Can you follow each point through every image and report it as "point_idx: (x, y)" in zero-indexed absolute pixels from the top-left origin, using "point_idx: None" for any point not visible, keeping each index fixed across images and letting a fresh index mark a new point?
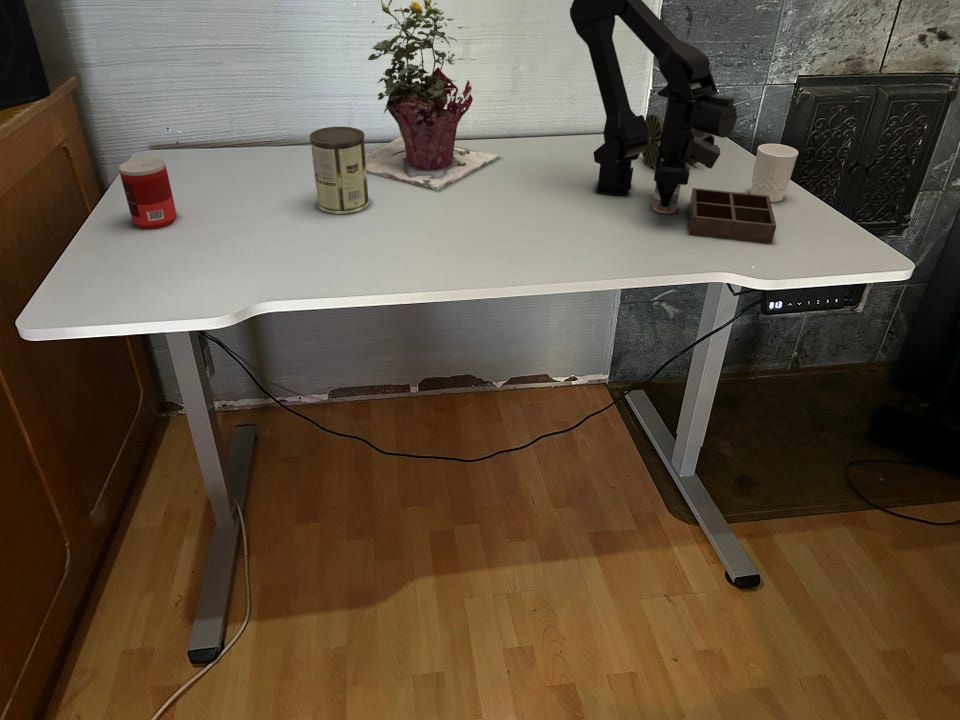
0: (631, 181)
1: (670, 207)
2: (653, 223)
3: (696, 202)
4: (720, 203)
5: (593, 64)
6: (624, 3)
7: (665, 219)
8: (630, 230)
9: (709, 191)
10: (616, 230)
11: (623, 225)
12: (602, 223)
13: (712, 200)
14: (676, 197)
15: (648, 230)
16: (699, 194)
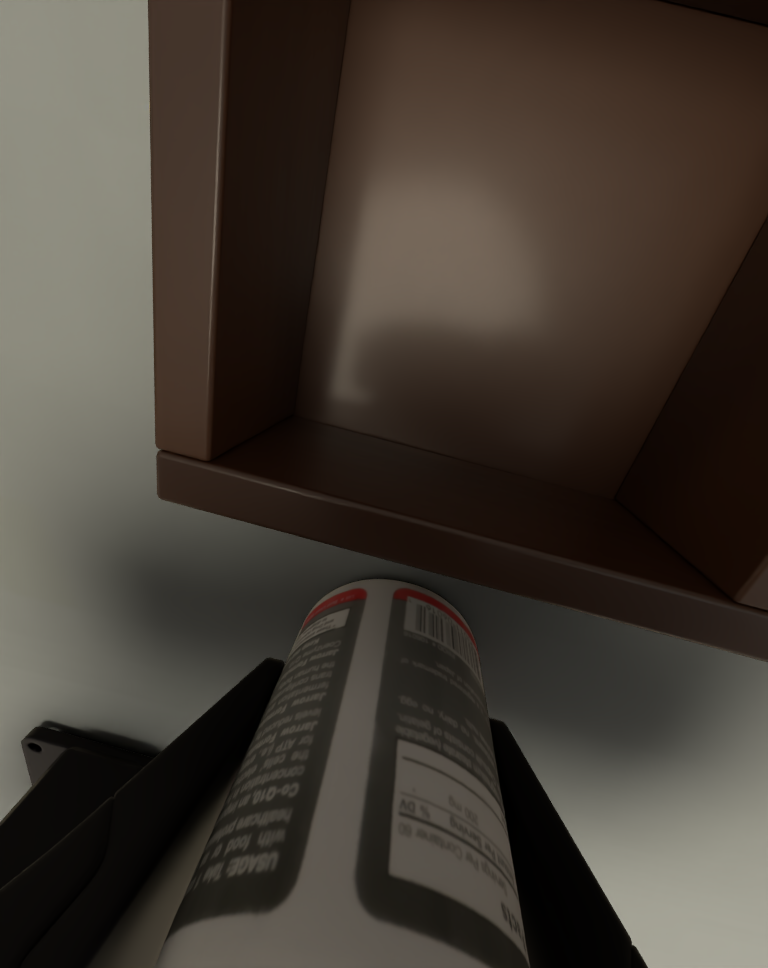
0: (49, 787)
1: (481, 681)
2: (625, 758)
3: (766, 612)
4: (337, 19)
5: None
6: None
7: (571, 681)
8: (695, 869)
9: (228, 205)
10: (674, 909)
11: (616, 874)
12: None
13: (301, 167)
14: (474, 737)
15: (728, 806)
16: (250, 385)
